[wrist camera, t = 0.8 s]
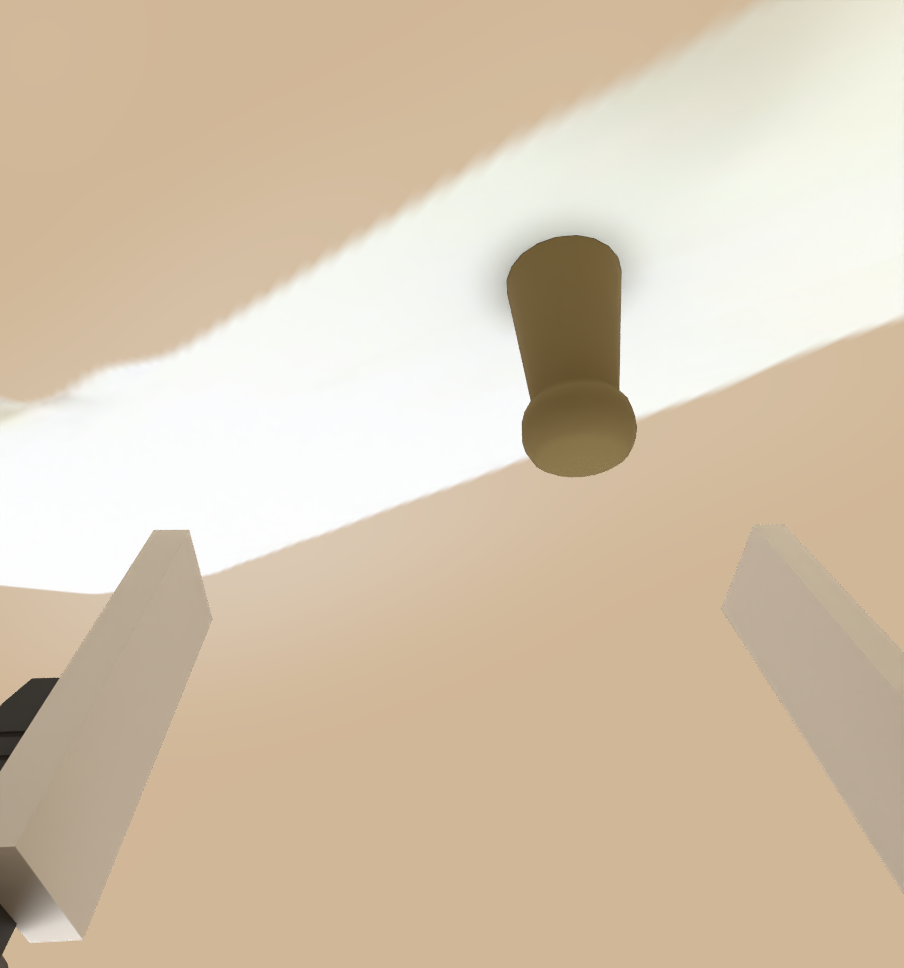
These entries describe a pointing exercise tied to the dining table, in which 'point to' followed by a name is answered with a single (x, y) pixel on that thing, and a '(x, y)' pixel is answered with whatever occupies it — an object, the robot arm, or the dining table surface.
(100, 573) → the dining table surface
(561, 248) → the cork
